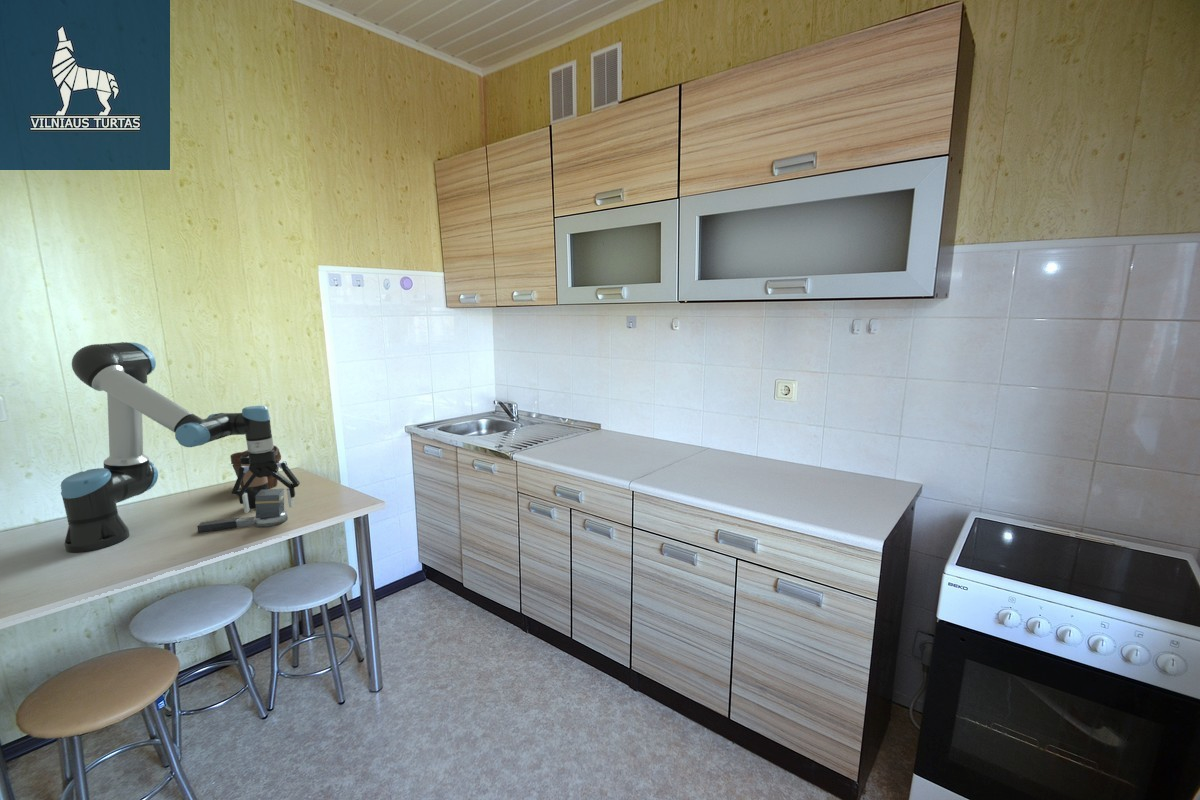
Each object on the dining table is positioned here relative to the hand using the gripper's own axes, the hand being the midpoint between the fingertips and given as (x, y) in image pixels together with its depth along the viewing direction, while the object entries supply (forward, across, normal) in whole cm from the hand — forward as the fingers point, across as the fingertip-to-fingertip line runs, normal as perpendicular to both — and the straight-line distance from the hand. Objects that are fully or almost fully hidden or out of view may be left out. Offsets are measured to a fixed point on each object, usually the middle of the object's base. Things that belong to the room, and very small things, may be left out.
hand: (269, 509), depth 181 cm
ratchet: (+5, -8, 0) cm, 9 cm away
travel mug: (+5, -9, +21) cm, 23 cm away
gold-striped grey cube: (+2, 0, 0) cm, 2 cm away
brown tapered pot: (+5, -15, +47) cm, 50 cm away
